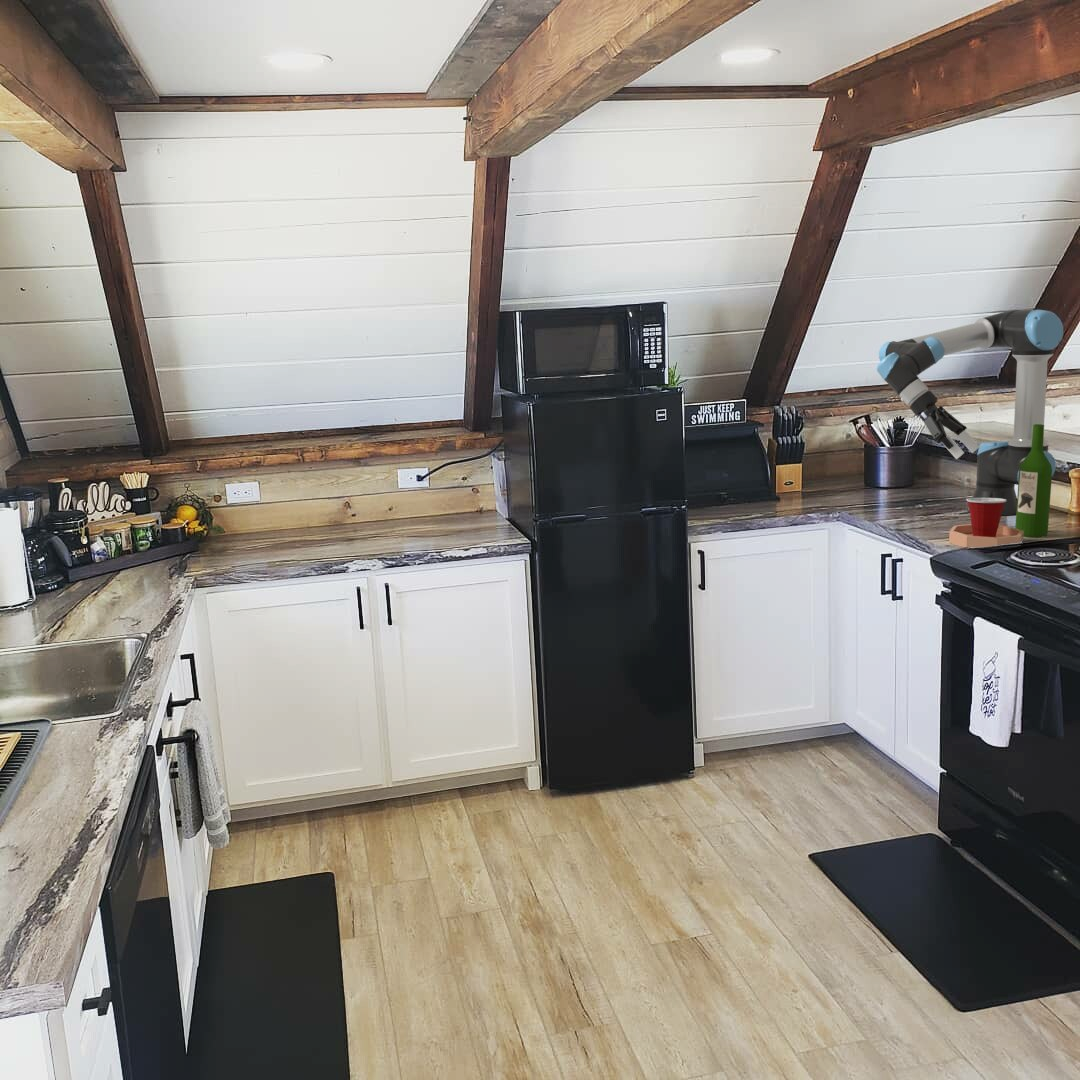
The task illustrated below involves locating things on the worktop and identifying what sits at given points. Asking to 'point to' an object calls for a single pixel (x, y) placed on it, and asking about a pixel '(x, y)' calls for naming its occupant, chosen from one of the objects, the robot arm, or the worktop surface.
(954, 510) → the worktop surface
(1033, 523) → the wine bottle
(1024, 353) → the robot arm
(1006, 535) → the terracotta bowl
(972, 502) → the plastic cup
